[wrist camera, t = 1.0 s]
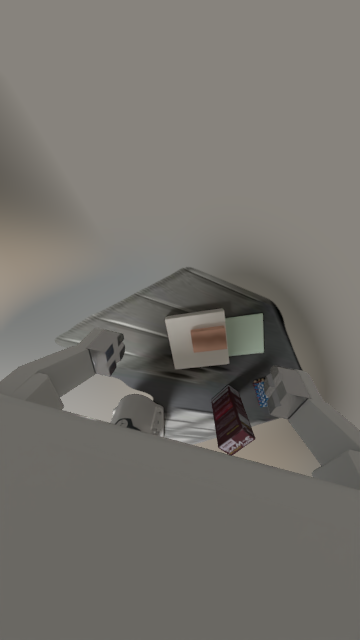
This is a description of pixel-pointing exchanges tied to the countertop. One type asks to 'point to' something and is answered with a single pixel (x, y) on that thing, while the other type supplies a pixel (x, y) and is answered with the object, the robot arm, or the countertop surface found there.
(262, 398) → the woven mat
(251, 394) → the countertop surface
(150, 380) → the countertop surface
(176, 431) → the countertop surface
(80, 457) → the robot arm
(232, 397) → the supplement box
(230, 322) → the mat
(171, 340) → the pale grey square slab
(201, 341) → the terracotta flat block
